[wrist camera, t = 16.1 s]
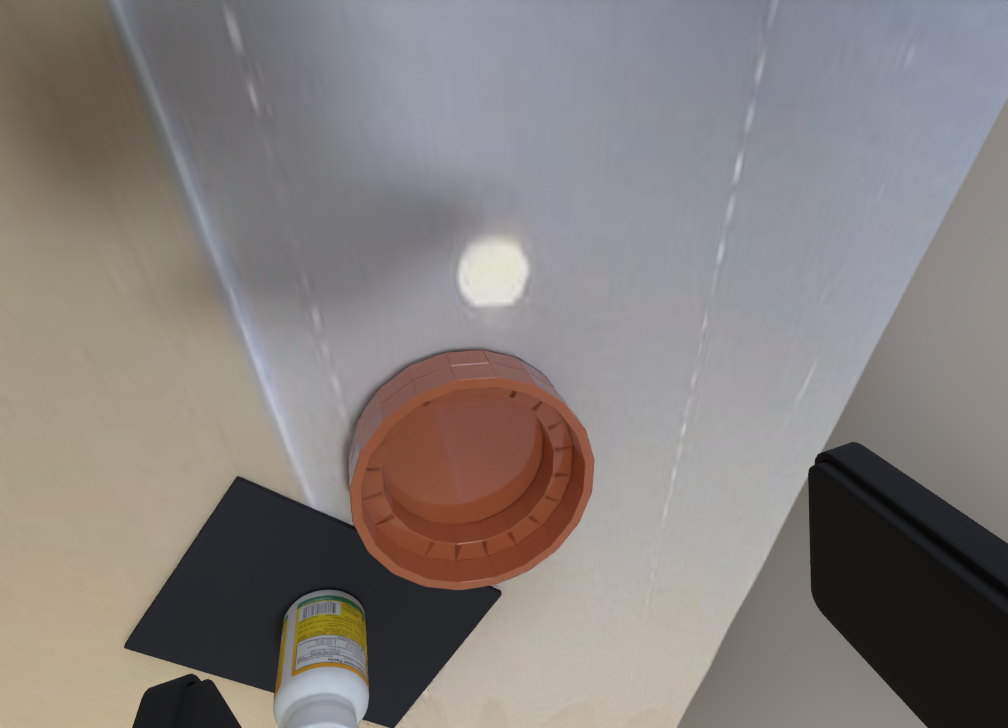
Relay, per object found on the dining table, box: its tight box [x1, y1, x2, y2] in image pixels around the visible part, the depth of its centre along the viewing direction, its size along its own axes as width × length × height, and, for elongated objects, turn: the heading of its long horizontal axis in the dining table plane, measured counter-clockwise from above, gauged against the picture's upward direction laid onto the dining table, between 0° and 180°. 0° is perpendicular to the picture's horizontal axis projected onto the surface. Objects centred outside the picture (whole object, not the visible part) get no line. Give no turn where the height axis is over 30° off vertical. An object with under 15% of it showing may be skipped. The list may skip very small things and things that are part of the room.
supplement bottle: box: [273, 590, 369, 728], centre depth 39 cm, size 5×5×10 cm
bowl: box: [349, 350, 594, 590], centre depth 39 cm, size 14×14×4 cm
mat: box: [124, 477, 501, 728], centre depth 43 cm, size 20×14×1 cm
